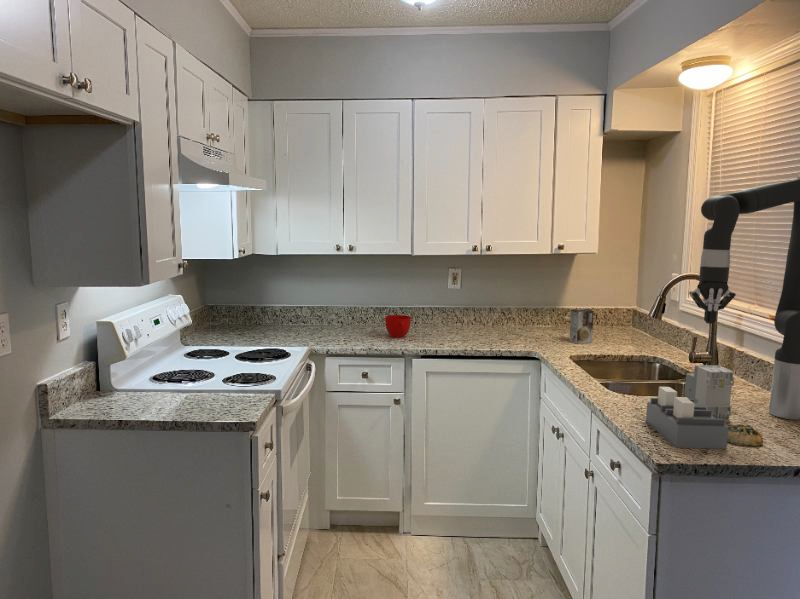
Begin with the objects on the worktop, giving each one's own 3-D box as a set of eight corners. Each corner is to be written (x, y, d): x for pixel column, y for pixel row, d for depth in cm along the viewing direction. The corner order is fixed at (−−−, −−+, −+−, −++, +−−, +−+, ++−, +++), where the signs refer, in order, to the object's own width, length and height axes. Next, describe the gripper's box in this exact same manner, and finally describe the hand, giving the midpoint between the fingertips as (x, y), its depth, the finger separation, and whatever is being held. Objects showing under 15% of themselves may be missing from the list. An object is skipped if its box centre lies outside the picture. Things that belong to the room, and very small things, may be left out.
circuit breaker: (703, 405, 184) (707, 360, 182) (730, 421, 170) (735, 372, 168) (680, 405, 184) (684, 360, 182) (705, 420, 170) (710, 372, 168)
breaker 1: (668, 403, 165) (669, 386, 164) (675, 409, 160) (677, 392, 160) (657, 403, 165) (658, 386, 165) (664, 408, 160) (666, 391, 160)
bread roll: (742, 430, 162) (745, 414, 160) (772, 451, 151) (776, 434, 150) (707, 433, 160) (709, 417, 159) (734, 454, 150) (737, 437, 148)
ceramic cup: (389, 341, 275) (390, 320, 274) (382, 334, 292) (382, 315, 290) (415, 340, 278) (416, 320, 277) (407, 333, 295) (407, 314, 293)
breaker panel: (690, 422, 168) (692, 397, 167) (726, 448, 148) (729, 421, 147) (645, 421, 169) (647, 396, 168) (675, 447, 149) (678, 419, 148)
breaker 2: (684, 415, 155) (685, 397, 155) (692, 421, 150) (694, 403, 150) (673, 414, 155) (674, 397, 155) (681, 421, 150) (682, 402, 150)
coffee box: (584, 340, 286) (586, 308, 283) (592, 342, 280) (594, 310, 277) (568, 341, 283) (570, 309, 281) (576, 343, 277) (578, 311, 274)
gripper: (730, 264, 170) (725, 321, 173) (686, 263, 171) (681, 320, 173) (745, 266, 163) (739, 326, 165) (698, 265, 163) (693, 325, 166)
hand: (709, 323), depth 169 cm, fingers closed
